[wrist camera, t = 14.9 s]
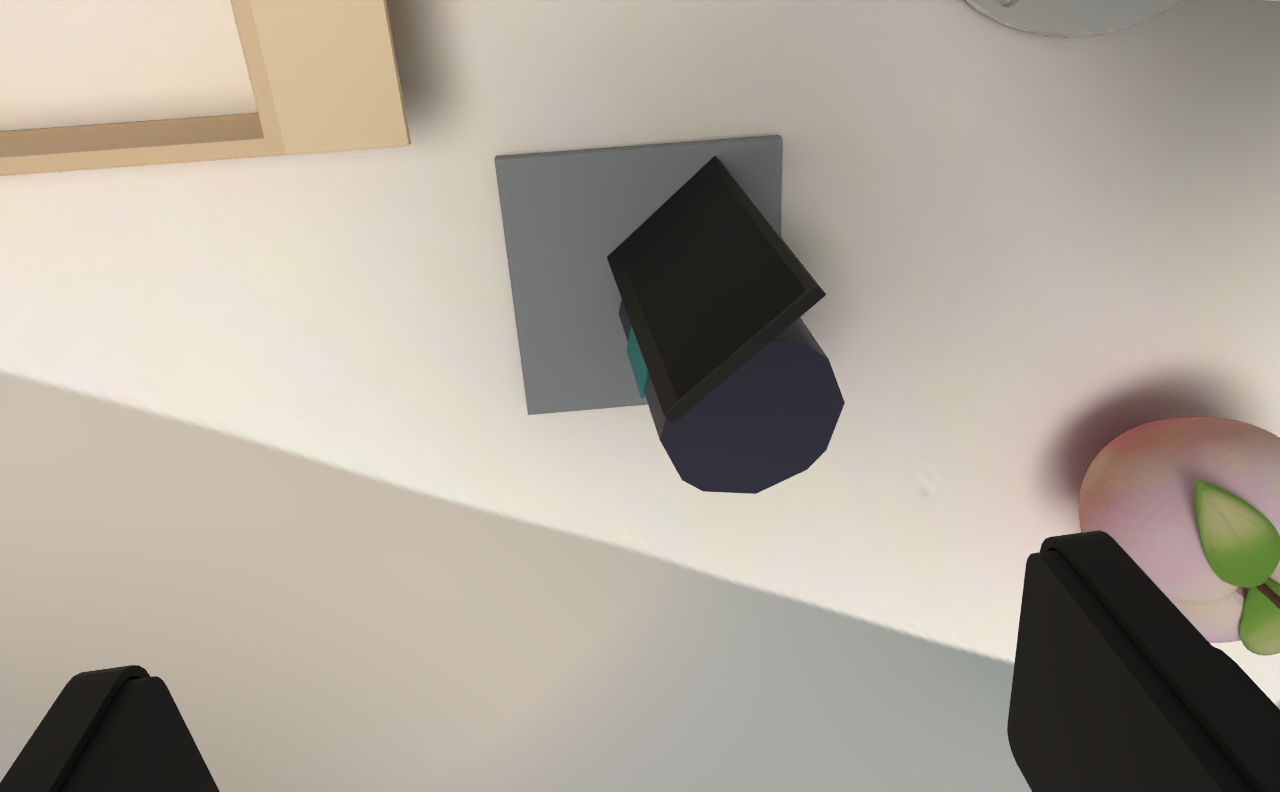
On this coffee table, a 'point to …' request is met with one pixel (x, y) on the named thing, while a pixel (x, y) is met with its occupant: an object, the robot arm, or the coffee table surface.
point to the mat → (598, 253)
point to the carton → (257, 98)
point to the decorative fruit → (1197, 520)
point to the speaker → (725, 339)
